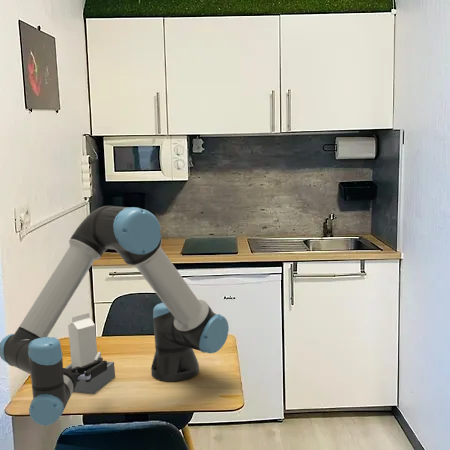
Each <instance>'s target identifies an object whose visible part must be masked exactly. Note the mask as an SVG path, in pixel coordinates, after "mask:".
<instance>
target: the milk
mask: <svg viewBox="0 0 450 450" xmlns="http://www.w3.org/2000/svg"><path fill="white" fill-rule="evenodd" d="M67 326H68V327H67V329H68V336H69V338H68V339H69V350H70V359H71V360H70V362H71V363H70V364H72V368H75V367H77V366H79V367H82V366H84V365H87V364H89V363H92V362H94V359H95V357H96V355H97V353H98V346H97V333H96V332H97V331H96V324H95V323H94V321H93V320H92V318H90V313H89V312H88V313H84V314H80V315H75V316H73V317H72V318H71V322H70V323H69V324H68V325H67Z"/></svg>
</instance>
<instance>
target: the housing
mask: <svg viewBox="0 0 450 450" xmlns="http://www.w3.org/2000/svg"><path fill="white" fill-rule="evenodd" d="M65 368H66V369H70V368H71V369H72V364H71V363H70V364H69V365H66V367H65ZM115 378H116V367H115V362H114V361H107V370H106V371H104V372H103V373H101V374H99V375H98V376H96V377H94V378H93V379H92V380H91V381H90V382H86V381H85V379H82V380H80V381H79V382H77V385H76V387H75V389H74V391H73V393H82V394H90V395H91V394H92V395H95V394H96V393H97V392H98V391H100V390H101V389H103V388H104V387H105V386H107V385H108V384H109V383H110V382H111V381H112V380H113V379H115Z"/></svg>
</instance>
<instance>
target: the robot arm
mask: <svg viewBox="0 0 450 450" xmlns="http://www.w3.org/2000/svg"><path fill="white" fill-rule="evenodd" d="M161 230H162V227H161V223H160V222H159V220H158V218H157V216H155V215H154V214H153V213H152V212H150V211H149V210H147V209H143V208H140V207H135V206H132V207H128V206H127V207H126V206H115V205H104V206H101V207H98V208H97V209H95V210H93V211H92V212H90V214H88V215H87V216H86V217H85V218H84V220H82V222H81V223H80V224H79V225H78V227H77V228H76V229H75V231H74V232H73V234H72V235H71V237H70V239H69V240H68V242H69V247H68V248H67V250H66V252H65V253H64V255H63V257H61V260H60V261H59V263H58V265H57V266H56V268H55V270H54V271H53V273H52V274H51V275H50V277H49V279H48V280H47V282H46V283H45V285H44V287H43V288H42V290H41V291H40V293H39V295H38V297H36V299H35V301H34V302H33V304H32V306H31V307H30V309H29V310H28V312H27V314H26V315H25V317H24V318H23V320H22V322H21V323H20V324H19V326H18V328H17V329H16V331H15V332H14V333H10V334H8V335H6V336H5V337H4V338H2V339H1V341H0V359H1V361H3V362H5V363H7V364H8V365H9V366H11V367H14V368H18V369H19V370H21V371H23V372H24V373H27V374H29V375H30V379H31V380H30V381H31V389H32V390H31V391H32V400H31V402H30V405H29V408H28V409H29V410H28V412H29V416H30V418H31V420H33V422H34V423H36V424H38V425H40V426H45V427H47V426H50V425H53V424H54V423H56V422H57V421H58V420H59V419H60V417H61V416H62V415H63V414H64V410H65V408H66V407H67V405H68V402H69V400H70V398H71V396H72V395H73V393H74V392H73V391H74V389H75V387H76V385H77V382H79V381H80V380H82V379H85V381H86V382H90V381H91V380H92V379H93V378H94V377H96V376H98V375H99V374H101V373H103V372H104V371H106V370H107V362H108V360H104V358H103V357H102V353H101V351H97V355H96V357H95V359H94V362H92V363H89V364H87V365H84V366H82V367H79V366H77V367H75V368H72V369H71V368H70V369H66V367H64V365H63V364H64V363H63V361H64V360H63V351H62V346H61V342H60V340H59V339H58V338H57V337H54V336H53V337H50V336H49V334H50V333H51V332H52V330H53V328H54V327H55V325H56V324H57V322H58V320H59V319H60V317H61V315H62V313H63V312H64V310H65V309H66V307H67V305H68V304H69V303H70V301H71V299H72V298H73V296H74V294H75V293H76V291H77V289H78V288H79V287H80V284H81V283H82V281H83V279H84V278H85V276H86V275H87V273H88V272H89V270H90V268H91V267H92V265H93V264H94V262H95V261H97V260H100V259H101V257H102V255H103V254H104V252H106V251H107V250H115V252H117V253H118V255H119V256H120V257H121V259H122V260H123V261H124V262H125V264H126V265H128V266H133V267H134V266H135V267H136V269H137V270H138V271H139V273H140V274H141V275H142V277H143V278H144V279H145V281H146V282H147V284H148V285H149V286H150V288H151V289H152V290H153V291H154V293H155V294H156V295H157V296H158V298H159V299H160V300H161V302H160V303H157V304H156V305H155V306H154V308H153V309H152V314H153V315H152V316H153V317H152V319H153V320H152V322H153V332H154V333H153V335H154V344H155V345H154V347H155V352H154V355H153V360H152V364H151V367H150V369H151V370H150V371H151V376H152V377H153V378H154V379H156V380H157V381H158V380H159V381H163V382H180V381H185V380H190V379H192V378H194V377H195V376H197V375H198V374H199V372H200V365H199V361H198V359H197V356H196V354H195V351H194V350H196V351H200V352H201V353H203V354H205V353H207V354H215V353H218V352H219V351H220V350H221V349H222V348H223V347H224V345H225V344H226V342H227V339H228V336H229V329H230V327H229V322H228V320H227V318H226V317H225V316H223V315H222V314H219V313H217V314H216V313H215V312H214V311H213V310H212V308H211V307H210V306H209V304H208V302H206V301H205V300H203V299H198V298H197V296H196V295H195V294H194V292H193V290H192V289H191V288H190V286H189V285H188V284H187V282H186V280H185V279H184V277H183V276H182V275H181V273H180V272H179V270H178V269H177V268H176V266H175V265H174V264H173V262H172V261H171V260H170V258H169V256H167V254H166V252H165V251H164V250H163V248H162V244H163V239H162V233H161Z"/></svg>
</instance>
